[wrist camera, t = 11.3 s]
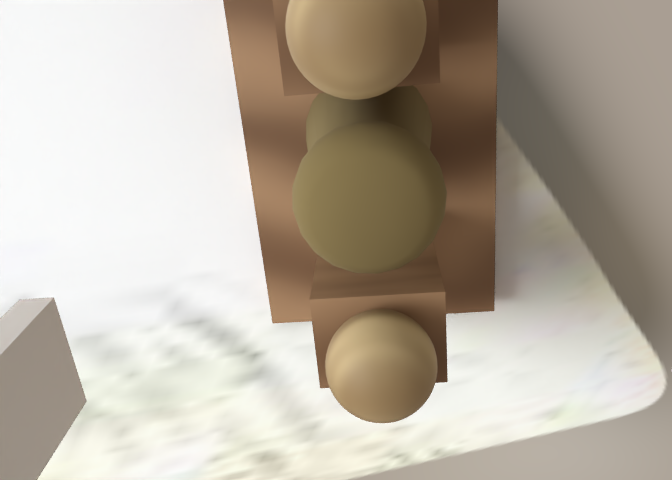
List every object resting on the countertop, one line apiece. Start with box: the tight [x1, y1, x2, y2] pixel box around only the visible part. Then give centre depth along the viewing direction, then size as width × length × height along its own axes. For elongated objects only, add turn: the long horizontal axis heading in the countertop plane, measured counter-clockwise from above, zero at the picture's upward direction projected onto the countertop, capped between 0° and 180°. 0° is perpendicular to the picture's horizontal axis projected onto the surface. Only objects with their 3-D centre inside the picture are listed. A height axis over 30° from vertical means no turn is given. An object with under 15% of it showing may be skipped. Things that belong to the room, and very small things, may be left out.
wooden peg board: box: [223, 0, 498, 423], centre depth 24 cm, size 20×12×14 cm, turn 5°
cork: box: [292, 85, 447, 274], centre depth 24 cm, size 6×6×11 cm
